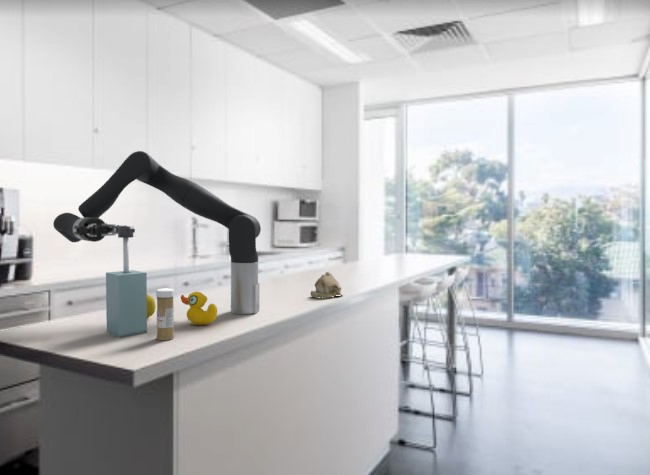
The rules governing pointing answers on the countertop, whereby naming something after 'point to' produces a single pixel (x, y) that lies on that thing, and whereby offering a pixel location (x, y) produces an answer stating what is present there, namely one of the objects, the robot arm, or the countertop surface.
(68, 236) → the robot arm
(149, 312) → the lemon
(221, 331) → the countertop surface
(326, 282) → the ceramic model
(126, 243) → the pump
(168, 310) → the sprinkles bottle
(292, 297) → the countertop surface
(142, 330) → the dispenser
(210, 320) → the duckling
